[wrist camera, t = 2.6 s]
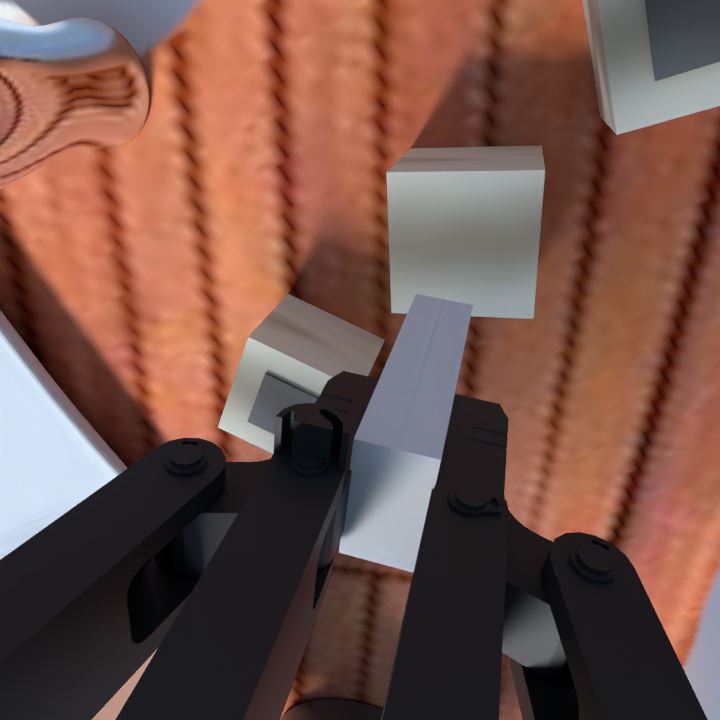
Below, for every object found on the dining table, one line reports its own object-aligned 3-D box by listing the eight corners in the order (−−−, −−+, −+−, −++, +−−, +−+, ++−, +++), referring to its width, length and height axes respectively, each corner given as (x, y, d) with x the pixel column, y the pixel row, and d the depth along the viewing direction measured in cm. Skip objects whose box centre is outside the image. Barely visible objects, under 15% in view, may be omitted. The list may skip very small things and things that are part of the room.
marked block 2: (756, 70, 25) (817, 79, 20) (599, 116, 27) (617, 135, 22) (746, -102, 23) (812, -143, 17) (576, -37, 25) (589, -57, 19)
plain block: (532, 271, 31) (533, 318, 25) (413, 268, 32) (391, 312, 27) (541, 145, 28) (545, 170, 23) (411, 147, 29) (386, 172, 24)
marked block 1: (347, 417, 37) (318, 479, 32) (258, 375, 38) (216, 429, 32) (385, 339, 34) (360, 393, 29) (288, 293, 34) (246, 338, 29)
